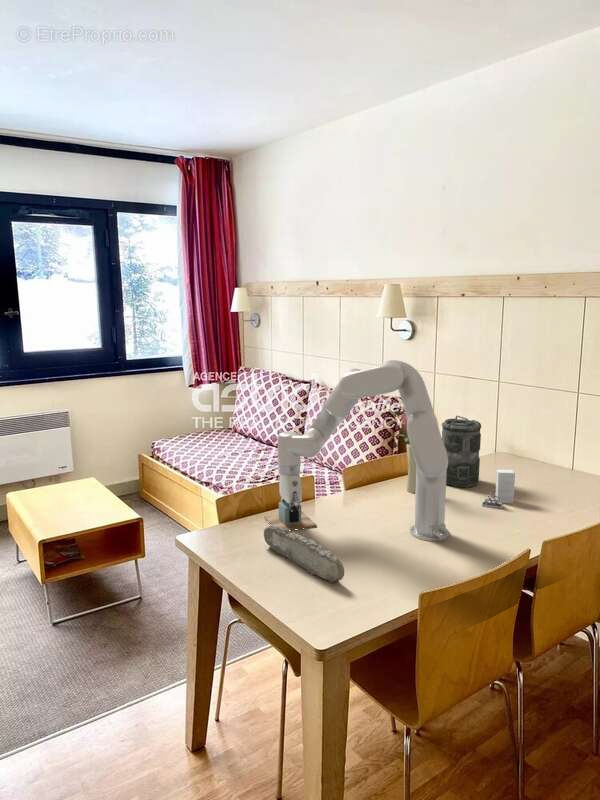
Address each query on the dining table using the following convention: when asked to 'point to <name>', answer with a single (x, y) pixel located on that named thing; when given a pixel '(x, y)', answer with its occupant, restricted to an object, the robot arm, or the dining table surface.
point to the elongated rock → (305, 553)
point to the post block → (305, 523)
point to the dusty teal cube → (287, 513)
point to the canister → (462, 451)
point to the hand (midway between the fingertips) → (289, 517)
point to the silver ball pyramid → (492, 504)
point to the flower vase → (410, 464)
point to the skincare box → (505, 485)
